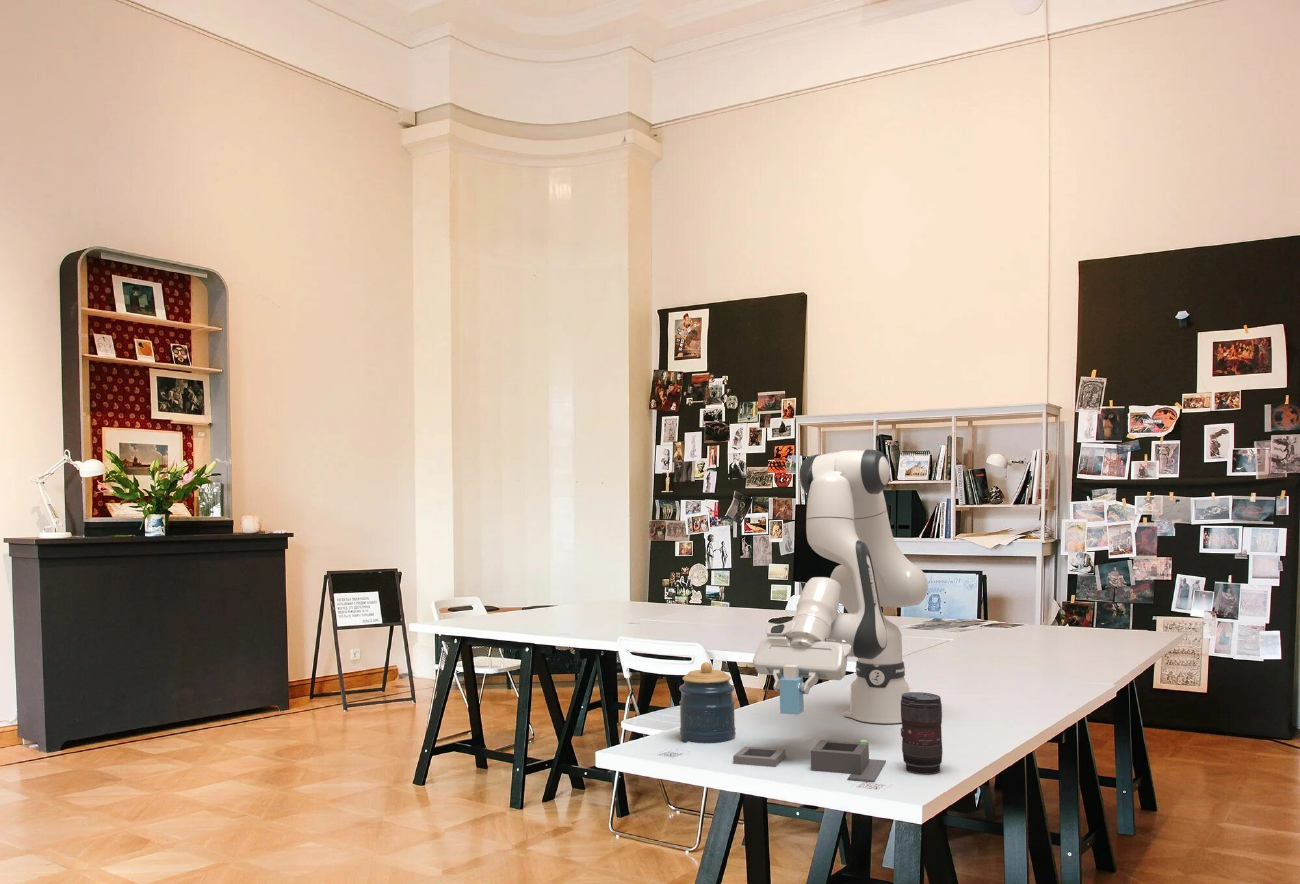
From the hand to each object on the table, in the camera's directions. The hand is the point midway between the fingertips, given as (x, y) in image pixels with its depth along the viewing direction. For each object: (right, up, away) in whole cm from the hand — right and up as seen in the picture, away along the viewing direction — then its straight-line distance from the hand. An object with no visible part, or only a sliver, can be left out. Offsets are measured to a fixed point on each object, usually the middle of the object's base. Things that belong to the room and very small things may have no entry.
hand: (790, 691), depth 208 cm
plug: (0, -4, 0) cm, 4 cm away
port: (+10, -15, -4) cm, 18 cm away
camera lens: (+26, -15, -6) cm, 31 cm away
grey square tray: (-6, -15, +2) cm, 17 cm away
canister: (-16, -17, +24) cm, 34 cm away
